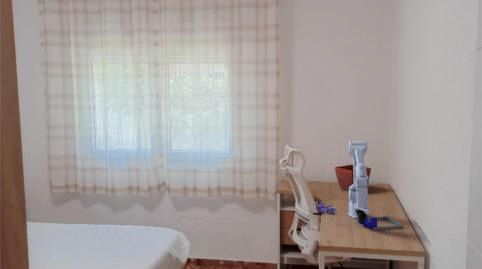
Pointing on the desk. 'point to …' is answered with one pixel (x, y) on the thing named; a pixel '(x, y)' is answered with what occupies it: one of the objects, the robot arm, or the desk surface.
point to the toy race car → (324, 208)
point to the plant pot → (347, 176)
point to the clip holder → (397, 226)
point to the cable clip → (370, 222)
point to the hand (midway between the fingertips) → (361, 223)
